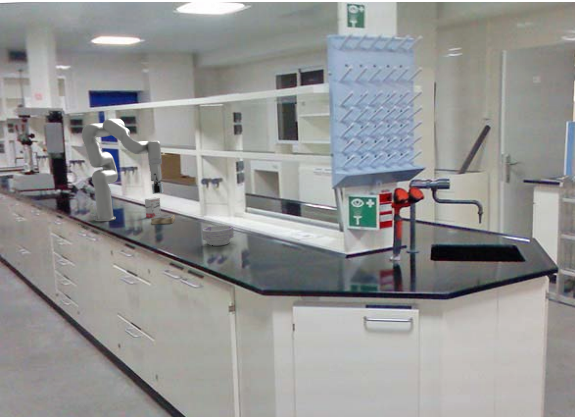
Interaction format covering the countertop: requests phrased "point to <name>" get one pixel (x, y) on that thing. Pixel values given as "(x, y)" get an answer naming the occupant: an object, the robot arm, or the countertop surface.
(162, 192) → the cube
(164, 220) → the maple stand
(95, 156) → the robot arm
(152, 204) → the ink box
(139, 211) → the countertop surface
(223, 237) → the paper bowls
